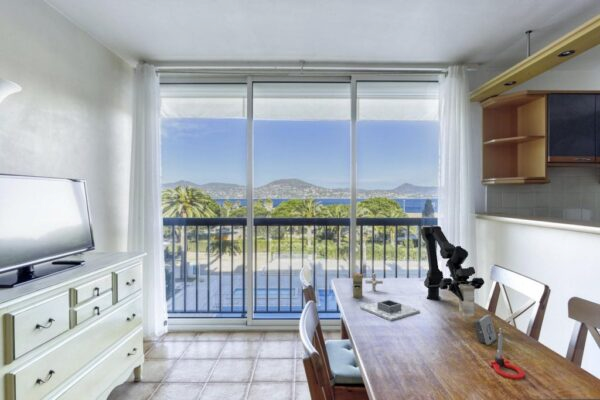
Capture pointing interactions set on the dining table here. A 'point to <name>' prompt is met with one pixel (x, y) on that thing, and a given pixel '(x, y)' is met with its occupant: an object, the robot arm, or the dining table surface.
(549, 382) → the dining table surface
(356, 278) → the shoe polish box
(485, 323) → the electrical switch
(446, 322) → the dining table surface
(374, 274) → the pipe connector
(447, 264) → the robot arm
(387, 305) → the socket plate
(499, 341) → the tow hook
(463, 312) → the birch peg
